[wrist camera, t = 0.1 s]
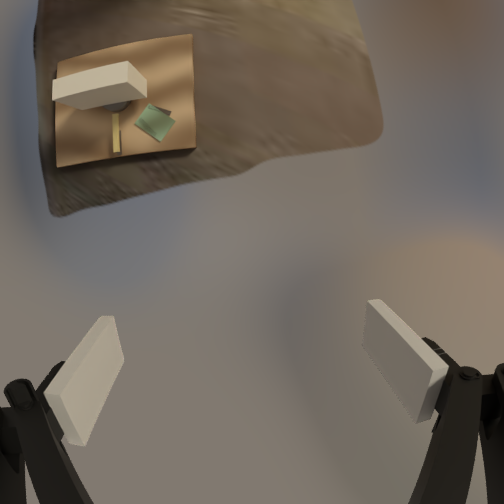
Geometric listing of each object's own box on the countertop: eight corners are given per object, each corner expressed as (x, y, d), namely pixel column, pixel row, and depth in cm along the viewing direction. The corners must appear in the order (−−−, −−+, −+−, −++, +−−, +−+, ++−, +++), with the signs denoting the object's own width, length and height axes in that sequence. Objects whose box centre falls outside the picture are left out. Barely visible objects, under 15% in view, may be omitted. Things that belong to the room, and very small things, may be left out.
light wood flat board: (62, 64, 34) (57, 61, 33) (192, 37, 35) (191, 33, 34) (61, 167, 38) (56, 167, 37) (196, 148, 39) (195, 147, 38)
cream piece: (88, 90, 35) (53, 73, 25) (150, 78, 35) (128, 53, 25) (89, 157, 37) (52, 156, 27) (152, 147, 38) (128, 142, 28)
